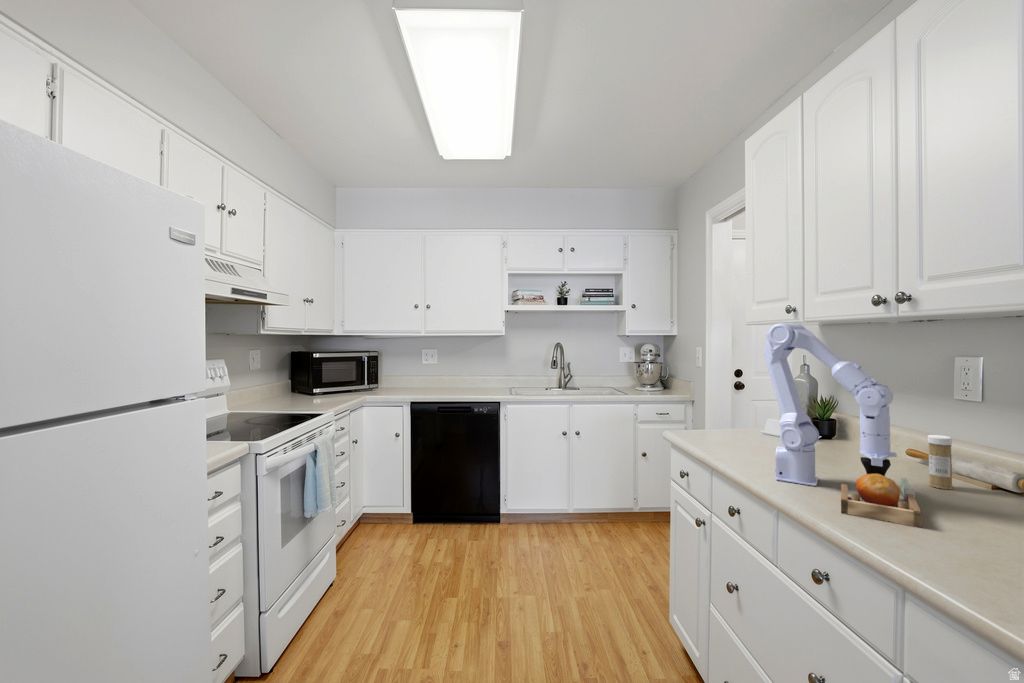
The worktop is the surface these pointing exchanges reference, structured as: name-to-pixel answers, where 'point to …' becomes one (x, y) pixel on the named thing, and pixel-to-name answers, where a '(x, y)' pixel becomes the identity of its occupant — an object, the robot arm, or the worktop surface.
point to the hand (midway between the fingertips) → (875, 488)
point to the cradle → (882, 509)
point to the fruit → (878, 490)
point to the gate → (906, 488)
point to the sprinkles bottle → (940, 461)
